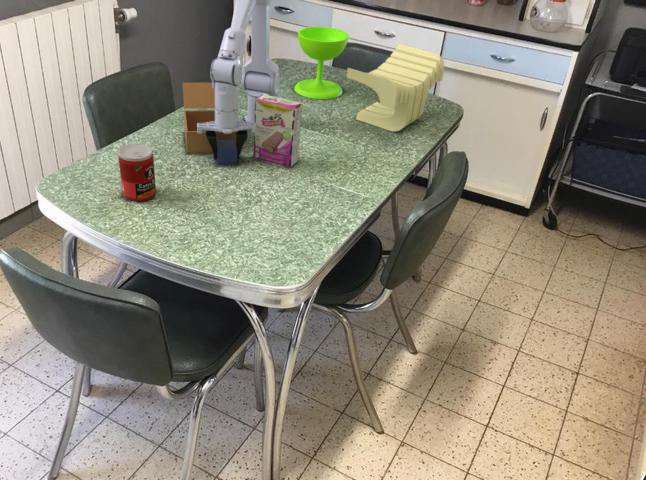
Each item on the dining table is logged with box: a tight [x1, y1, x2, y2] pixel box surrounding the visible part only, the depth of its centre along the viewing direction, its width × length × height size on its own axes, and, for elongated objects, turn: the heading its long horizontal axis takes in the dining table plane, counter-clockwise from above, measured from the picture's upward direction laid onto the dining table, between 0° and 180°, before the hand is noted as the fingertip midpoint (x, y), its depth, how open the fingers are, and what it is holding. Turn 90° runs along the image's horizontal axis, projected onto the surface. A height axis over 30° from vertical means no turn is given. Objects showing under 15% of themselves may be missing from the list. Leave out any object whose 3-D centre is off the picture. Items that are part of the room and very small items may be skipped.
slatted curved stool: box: [346, 43, 445, 133], centre depth 188 cm, size 30×16×18 cm, turn 144°
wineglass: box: [293, 26, 350, 100], centre depth 205 cm, size 16×16×18 cm
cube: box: [216, 140, 238, 166], centre depth 165 cm, size 5×5×5 cm
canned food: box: [117, 143, 157, 202], centre depth 148 cm, size 8×8×11 cm
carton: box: [183, 109, 236, 154], centre depth 173 cm, size 14×14×6 cm
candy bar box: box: [253, 94, 303, 168], centre depth 164 cm, size 11×5×16 cm, turn 65°
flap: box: [182, 82, 215, 109], centre depth 176 cm, size 7×14×1 cm
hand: (226, 157), depth 166 cm, fingers closed on cube, 5 cm apart
